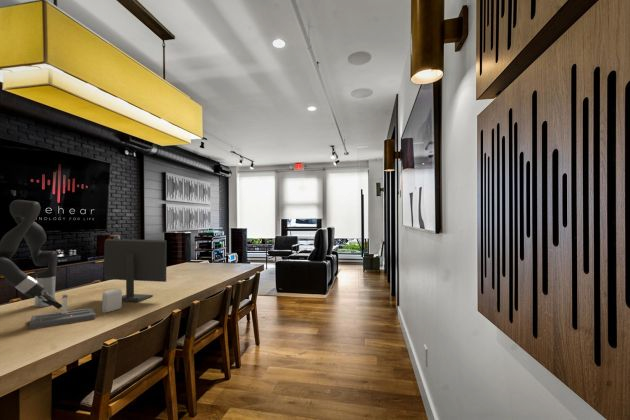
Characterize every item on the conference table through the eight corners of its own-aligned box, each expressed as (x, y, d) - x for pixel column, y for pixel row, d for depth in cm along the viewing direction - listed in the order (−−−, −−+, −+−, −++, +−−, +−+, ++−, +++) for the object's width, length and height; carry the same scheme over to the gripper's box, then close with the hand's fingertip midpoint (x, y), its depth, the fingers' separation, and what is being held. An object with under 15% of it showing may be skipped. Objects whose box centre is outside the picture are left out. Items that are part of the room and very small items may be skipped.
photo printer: (105, 313, 175) (105, 291, 175) (100, 312, 177) (101, 290, 177) (122, 308, 184) (123, 288, 185) (118, 307, 186) (119, 287, 186)
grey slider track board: (31, 320, 161) (31, 313, 161) (92, 311, 177) (92, 305, 177) (29, 329, 148) (29, 322, 148) (94, 319, 165) (95, 312, 165)
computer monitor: (170, 297, 213) (172, 239, 214) (156, 303, 197) (158, 241, 198) (112, 294, 217) (115, 238, 219) (94, 300, 201) (96, 239, 203)
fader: (60, 314, 163) (61, 295, 164) (67, 313, 165) (68, 294, 166) (60, 316, 160) (61, 296, 161) (67, 315, 162) (68, 295, 162)
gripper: (36, 283, 151) (67, 304, 159) (38, 278, 161) (67, 298, 169) (21, 295, 148) (53, 316, 155) (24, 290, 158) (54, 310, 165)
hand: (60, 307), depth 162 cm, fingers closed
